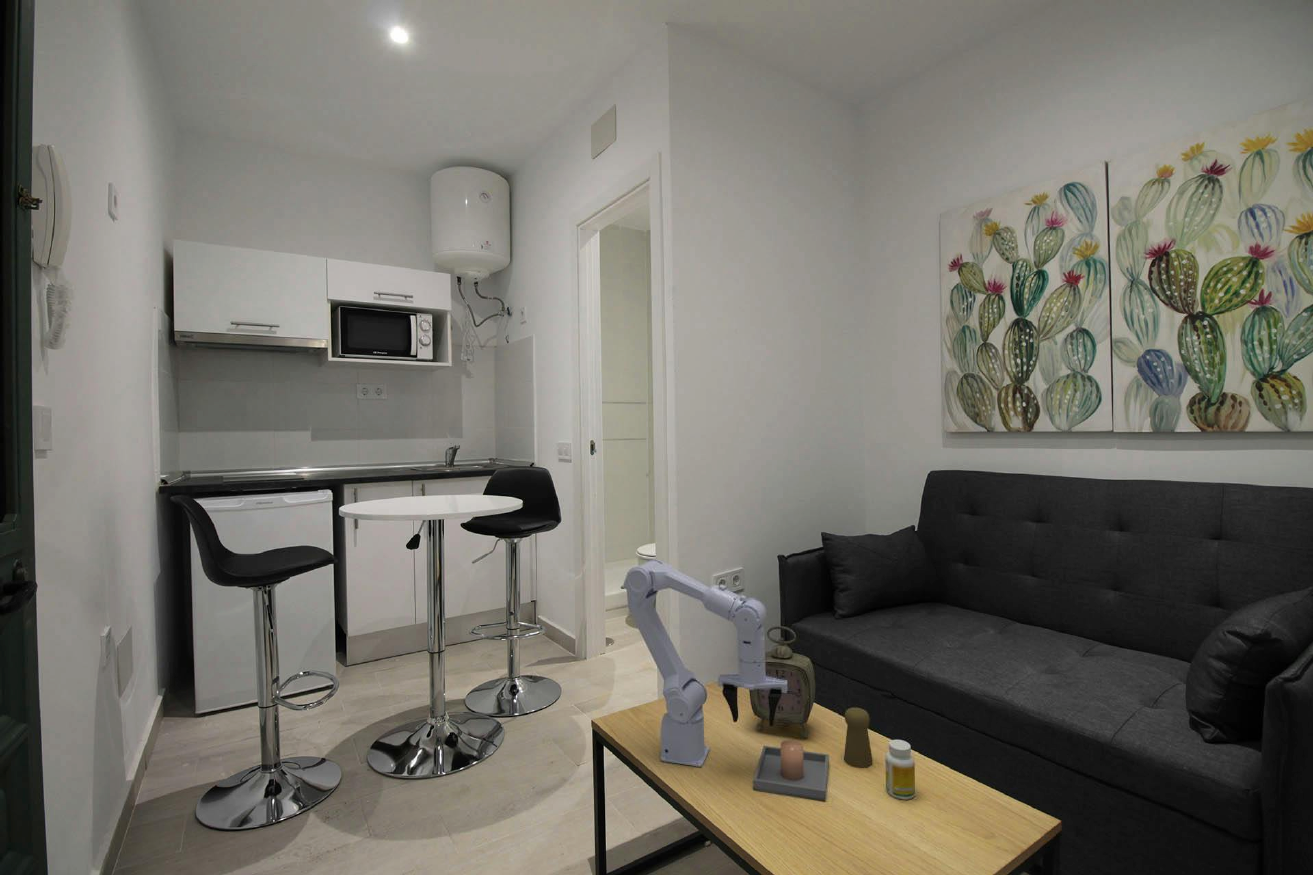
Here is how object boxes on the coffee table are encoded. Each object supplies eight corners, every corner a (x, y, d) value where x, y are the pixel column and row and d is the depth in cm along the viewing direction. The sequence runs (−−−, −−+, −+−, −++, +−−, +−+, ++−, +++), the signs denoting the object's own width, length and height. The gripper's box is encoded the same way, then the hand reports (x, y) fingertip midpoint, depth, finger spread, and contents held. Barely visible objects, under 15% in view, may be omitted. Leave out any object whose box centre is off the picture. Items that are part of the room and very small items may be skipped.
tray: (753, 789, 123) (753, 779, 123) (763, 754, 136) (763, 745, 136) (825, 801, 118) (825, 791, 118) (828, 763, 132) (828, 754, 131)
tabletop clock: (750, 732, 146) (747, 628, 146) (758, 716, 154) (756, 617, 154) (811, 742, 140) (809, 634, 140) (817, 725, 149) (814, 623, 149)
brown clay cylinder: (779, 778, 126) (778, 749, 125) (782, 766, 130) (782, 738, 130) (802, 782, 124) (801, 752, 124) (804, 770, 128) (804, 741, 128)
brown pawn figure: (874, 769, 129) (873, 717, 129) (845, 766, 130) (843, 715, 130) (870, 754, 135) (869, 704, 135) (842, 752, 136) (841, 703, 136)
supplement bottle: (880, 789, 122) (879, 741, 122) (899, 781, 124) (898, 734, 124) (901, 803, 117) (900, 753, 117) (921, 795, 119) (920, 746, 119)
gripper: (713, 662, 128) (716, 726, 128) (783, 668, 123) (786, 735, 123) (721, 650, 135) (723, 711, 135) (787, 655, 130) (789, 719, 130)
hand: (753, 721), depth 129 cm, fingers open, 7 cm apart
